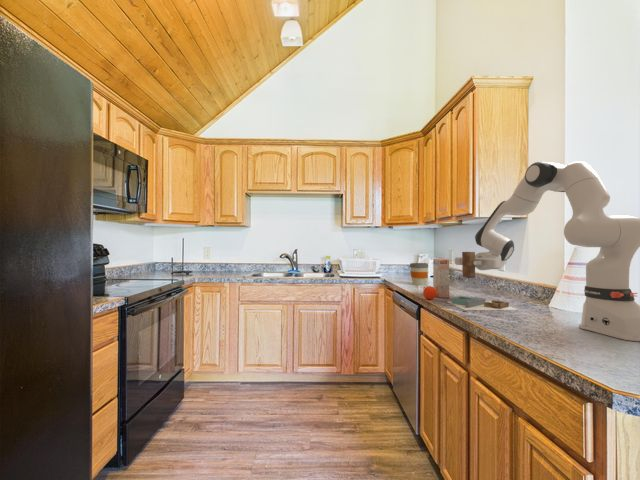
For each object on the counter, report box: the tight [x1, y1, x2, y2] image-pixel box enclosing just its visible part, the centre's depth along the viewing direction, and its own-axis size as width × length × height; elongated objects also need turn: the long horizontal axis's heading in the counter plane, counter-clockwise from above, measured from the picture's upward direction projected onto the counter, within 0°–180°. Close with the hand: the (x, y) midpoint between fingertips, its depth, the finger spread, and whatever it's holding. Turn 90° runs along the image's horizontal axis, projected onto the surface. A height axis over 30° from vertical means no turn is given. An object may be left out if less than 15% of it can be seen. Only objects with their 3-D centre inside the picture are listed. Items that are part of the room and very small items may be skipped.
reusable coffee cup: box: [409, 262, 429, 286], centre depth 228 cm, size 13×13×15 cm
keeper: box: [484, 300, 510, 309], centre depth 143 cm, size 7×8×2 cm
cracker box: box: [432, 257, 450, 299], centre depth 178 cm, size 14×6×21 cm, turn 171°
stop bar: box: [461, 251, 476, 279], centre depth 150 cm, size 4×4×12 cm
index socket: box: [451, 296, 477, 305], centre depth 151 cm, size 8×8×2 cm
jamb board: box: [446, 298, 519, 313], centre depth 146 cm, size 20×23×4 cm
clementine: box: [422, 285, 437, 301], centre depth 168 cm, size 8×7×7 cm
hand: (467, 262), depth 150 cm, fingers closed on stop bar, 4 cm apart
